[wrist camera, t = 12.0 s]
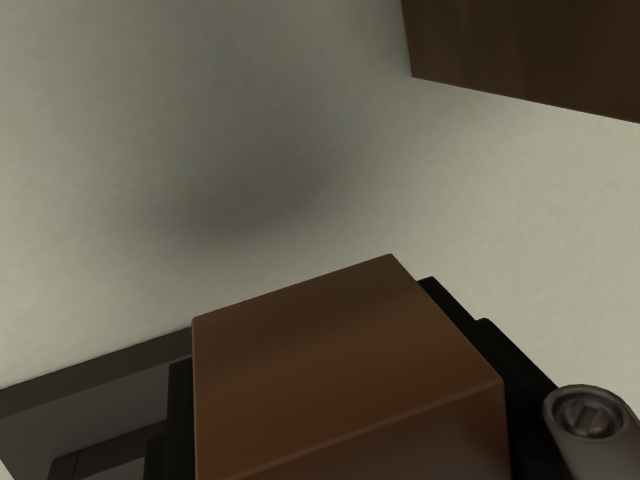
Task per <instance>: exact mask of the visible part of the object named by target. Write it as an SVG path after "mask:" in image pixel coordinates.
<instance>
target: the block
mask: <svg viewBox="0 0 640 480" xmlns="http://www.w3.org/2000/svg"><path fill="white" fill-rule="evenodd" d="M192 356H193V397H194V438H195V479H196V480H513V476H512V465H511V455H510V444H509V434H508V423H507V412H506V402H505V391H504V382H503V379H502V378H501V377H500V376H499V374H498V373H497V372H496V371H495V370H494V369H493V368H492V367H491V365H490V364H489V363H488V362H487V361H486V360H485V359H484V357H483V356H482V355H481V354H480V353H479V352H478V351H477V350H476V348H475V347H474V346H473V345H472V344H471V343H470V342H469V340H468V339H467V338H466V337H465V336H464V335H463V334H462V333H461V331H460V330H459V329H458V328H457V327H456V326H455V325H454V323H453V322H452V321H451V320H450V319H449V318H448V317H447V316H446V314H445V313H444V312H443V311H442V310H441V309H440V308H439V307H438V305H437V304H436V303H435V302H434V301H433V300H432V299H431V297H430V296H429V295H428V294H427V293H426V292H425V291H424V290H423V288H422V287H421V286H420V285H419V284H418V283H417V282H416V280H415V279H414V278H413V277H412V276H411V275H410V274H409V273H408V271H407V270H406V269H405V268H404V267H403V266H402V265H401V264H400V262H399V261H398V260H397V259H396V258H395V257H394V256H393V254H386V255H383V256H380V257H377V258H374V259H371V260H368V261H365V262H362V263H359V264H355V265H352V266H349V267H346V268H343V269H340V270H337V271H334V272H331V273H328V274H325V275H322V276H319V277H316V278H313V279H310V280H307V281H303V282H300V283H297V284H294V285H291V286H288V287H285V288H282V289H279V290H276V291H273V292H270V293H267V294H264V295H261V296H258V297H255V298H251V299H248V300H245V301H242V302H239V303H236V304H233V305H230V306H227V307H224V308H221V309H218V310H215V311H212V312H209V313H206V314H203V315H199V316H196V317H194V318H193V319H192Z"/></svg>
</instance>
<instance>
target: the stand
mask: <svg viewBox="0 0 640 480" xmlns="http://www.w3.org/2000/svg"><path fill="white" fill-rule="evenodd" d="M401 1H402V7H403V14H404V21H405V27H406V34H407V40H408V47H409V54H410V60H411V67H412V73H413V77H414V78H419V79H424V80H429V81H434V82H439V83H444V84H448V85H453V86H458V87H463V88H468V89H473V90H478V91H483V92H488V93H492V94H497V95H502V96H507V97H512V98H517V99H522V100H527V101H531V102H536V103H541V104H546V105H551V106H556V107H561V108H566V109H570V110H575V111H580V112H585V113H590V114H595V115H600V116H605V117H610V118H614V119H619V120H624V121H629V122H634V123H639V124H640V0H401Z"/></svg>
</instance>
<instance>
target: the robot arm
mask: <svg viewBox="0 0 640 480" xmlns="http://www.w3.org/2000/svg"><path fill="white" fill-rule="evenodd" d="M416 282H417V283H418V284H419V285H420V286H421V287H422V288H423V290H424V291H425V292H426V293H427V294H428V295H429V296H430V297H431V299H432V300H433V301H434V302H435V303H436V304H437V305H438V307H439V308H440V309H441V310H442V311H443V312H444V313H445V314H446V316H447V317H448V318H449V319H450V320H451V321H452V322H453V323H454V325H455V326H456V327H457V328H458V329H459V330H460V331H461V333H462V334H463V335H464V336H465V337H466V338H467V339H468V340H469V342H470V343H471V344H472V345H473V346H474V347H475V348H476V350H477V351H478V352H479V353H480V354H481V355H482V356H483V357H484V359H485V360H486V361H487V362H488V363H489V364H490V365H491V367H492V368H493V369H494V370H495V371H496V372H497V373H498V374H499V376H500V377H501V378H502V379H503V382H504V391H505V402H506V412H507V423H508V434H509V444H510V455H511V465H512V476H513V480H640V420H639V419H638V418H637V416H636V415H635V414H634V412H633V411H632V409H631V408H630V407H629V406H628V405H627V404H626V403H625V402H624V401H623V400H622V399H621V398H620V397H619V396H617V395H615V394H614V393H612V392H610V391H608V390H606V389H603V388H600V387H597V386H592V385H585V384H575V385H567V386H563V387H560V388H558V387H557V386H556V385H555V384H554V383H553V382H552V381H551V380H550V379H549V378H548V377H547V376H546V375H545V374H544V373H543V372H542V371H541V370H540V369H539V368H538V367H537V366H536V365H535V364H534V363H533V362H532V361H531V360H530V359H529V358H528V357H527V356H526V355H525V354H524V353H523V352H522V351H521V350H520V349H519V348H518V347H517V346H516V345H515V344H514V343H513V342H512V341H511V340H510V339H509V338H508V337H507V336H506V335H505V334H504V333H503V332H502V331H501V330H500V329H499V328H498V327H497V326H496V325H495V324H494V323H493V322H491V321H490V320H489V319H487V318H482V319H479V320H475V319H474V318H473V317H472V316H471V315H470V314H469V313H468V312H467V311H466V310H465V309H464V308H463V307H462V306H461V305H460V304H459V303H458V302H457V301H456V299H455V298H454V297H453V296H452V295H451V294H450V293H449V292H448V291H447V290H446V289H445V288H444V287H443V286H442V285H441V284H440V283H439V282H438V281H437V280H436V279H435V278H434V277H433V276H430V277H427V278H424V279H421V280H418V281H416ZM143 480H196V479H195V438H194V397H193V356H192V357H189V358H186V359H183V360H180V361H177V362H174V363H171V364H170V365H169V377H168V400H167V423H166V429H165V430H163V431H160V432H157V433H154V434H151V435H149V436H148V438H147V442H146V450H145V461H144V472H143Z"/></svg>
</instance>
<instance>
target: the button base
mask: <svg viewBox="0 0 640 480" xmlns="http://www.w3.org/2000/svg"><path fill="white" fill-rule="evenodd" d="M189 357H192V327H191V328H188V329H185V330H182V331H179V332H176V333H173V334H170V335H167V336H164V337H161V338H158V339H155V340H152V341H149V342H146V343H143V344H140V345H137V346H134V347H131V348H128V349H125V350H122V351H119V352H116V353H113V354H109V355H106V356H103V357H100V358H97V359H94V360H91V361H88V362H85V363H82V364H79V365H76V366H73V367H70V368H67V369H64V370H61V371H58V372H55V373H52V374H49V375H46V376H43V377H40V378H37V379H34V380H31V381H28V382H25V383H22V384H19V385H16V386H13V387H10V388H7V389H4V390H1V391H0V459H1V461H2V462H3V464H4V465H5V467H6V468H7V470H8V471H9V473H10V474H11V476H12V477H13V478H14V480H143V472H144V461H145V450H146V442H147V438H148V436H149V435H151V434H154V433H157V432H160V431H163V430H165V429H166V423H167V400H168V377H169V365H170V364H171V363H174V362H177V361H180V360H183V359H186V358H189Z"/></svg>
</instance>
